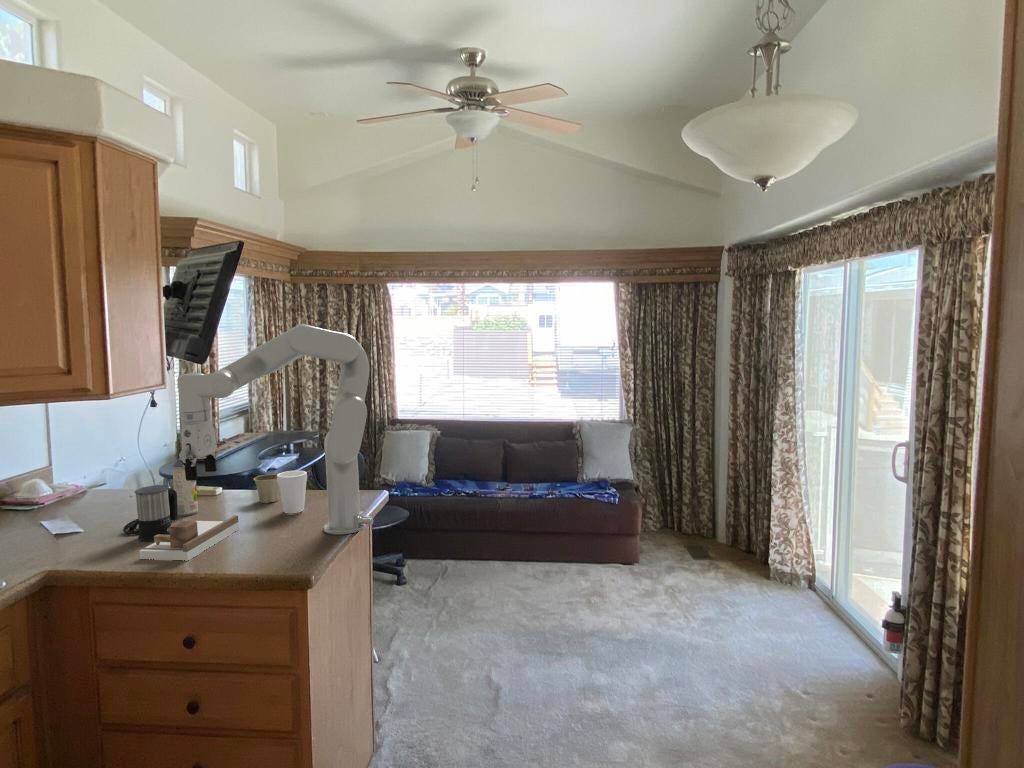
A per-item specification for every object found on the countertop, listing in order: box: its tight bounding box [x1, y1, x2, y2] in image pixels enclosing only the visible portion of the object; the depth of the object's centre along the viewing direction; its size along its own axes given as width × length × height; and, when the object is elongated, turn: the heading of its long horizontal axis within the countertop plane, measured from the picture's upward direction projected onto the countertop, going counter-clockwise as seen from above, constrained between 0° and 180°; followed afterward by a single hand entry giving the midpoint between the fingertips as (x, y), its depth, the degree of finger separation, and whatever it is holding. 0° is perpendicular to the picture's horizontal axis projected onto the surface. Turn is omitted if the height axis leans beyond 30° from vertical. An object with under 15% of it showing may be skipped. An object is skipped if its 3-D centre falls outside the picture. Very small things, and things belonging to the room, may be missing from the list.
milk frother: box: [122, 484, 179, 542], centre depth 199 cm, size 14×16×15 cm
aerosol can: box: [172, 457, 199, 517], centre depth 220 cm, size 7×7×20 cm
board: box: [139, 514, 240, 562], centre depth 190 cm, size 14×26×4 cm, turn 173°
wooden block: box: [153, 520, 198, 548], centre depth 182 cm, size 11×5×6 cm, turn 83°
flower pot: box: [253, 473, 280, 504], centre depth 234 cm, size 9×9×9 cm
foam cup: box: [277, 470, 308, 514], centre depth 220 cm, size 10×9×13 cm
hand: (201, 475), depth 187 cm, fingers open, 9 cm apart
